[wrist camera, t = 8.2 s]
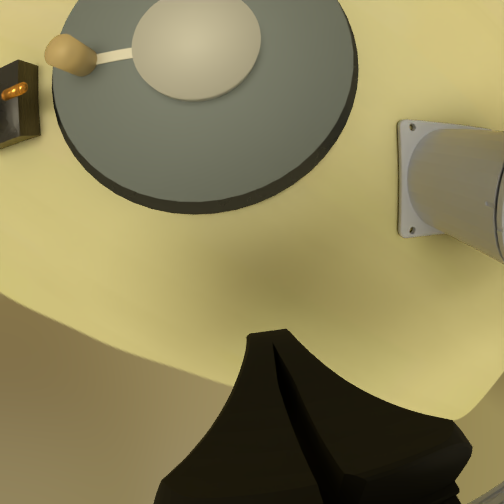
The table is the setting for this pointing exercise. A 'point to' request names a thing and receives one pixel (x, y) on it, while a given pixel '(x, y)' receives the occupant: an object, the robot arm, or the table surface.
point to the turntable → (200, 90)
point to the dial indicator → (18, 103)
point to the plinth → (235, 201)
